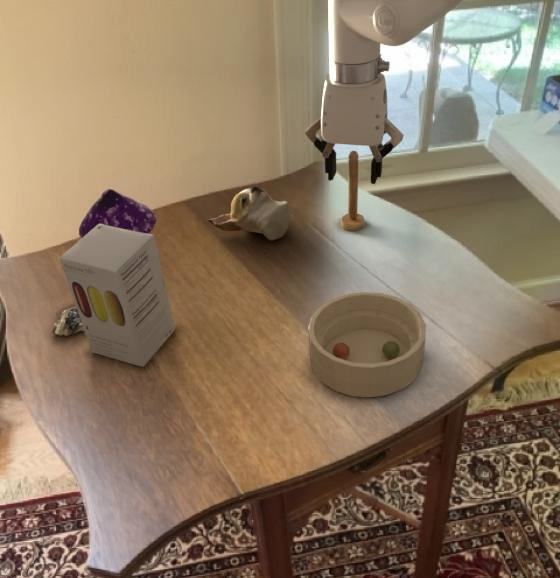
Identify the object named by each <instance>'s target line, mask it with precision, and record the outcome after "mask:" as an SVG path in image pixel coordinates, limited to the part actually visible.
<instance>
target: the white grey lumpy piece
mask: <svg viewBox="0 0 560 578" xmlns="http://www.w3.org/2000/svg"><path fill="white" fill-rule="evenodd" d="M59 318H60V320H59V319H57V318H56V320H57V323H56V322H55V323H53V325H54V327H53V328H52V332H51V333H53V334H54V335H56V336H59V337H62V336H63V335H64V337H68V336H70V335H72V334H74V335H75V334H77V333H78V332H85V331H84V328H83V325H82V322H81V319H80V316H79V313H78V310H77V307H76V305H75V306H72V307H71V306H70V307H69V308H67V309H65V310H63V311H61V315H60V316H59Z"/></svg>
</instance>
